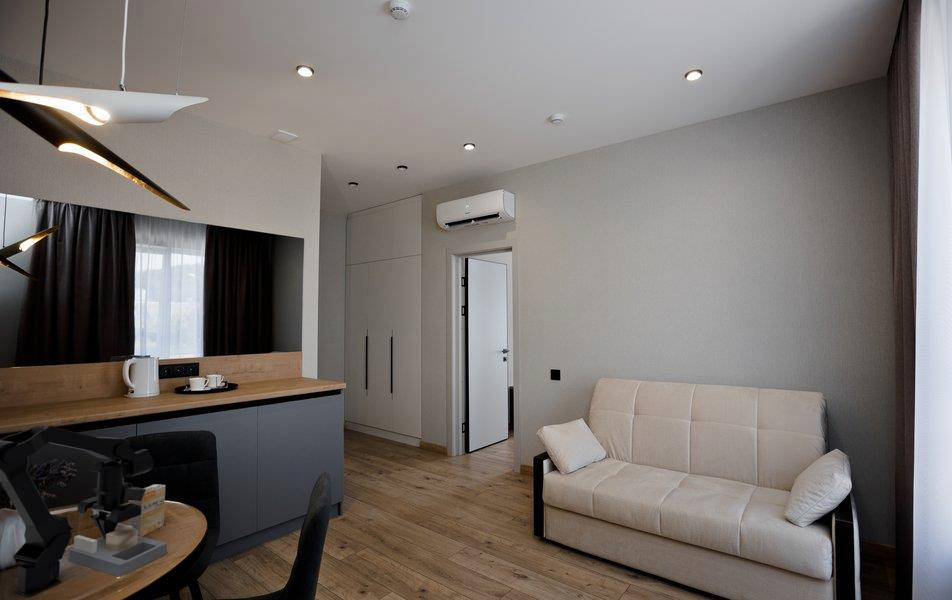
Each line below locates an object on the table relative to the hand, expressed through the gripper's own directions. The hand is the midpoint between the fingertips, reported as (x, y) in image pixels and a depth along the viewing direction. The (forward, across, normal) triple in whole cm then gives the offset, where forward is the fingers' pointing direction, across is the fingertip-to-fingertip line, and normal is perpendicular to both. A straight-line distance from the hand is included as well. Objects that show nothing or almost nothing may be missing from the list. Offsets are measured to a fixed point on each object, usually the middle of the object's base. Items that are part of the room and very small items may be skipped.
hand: (108, 539), depth 124 cm
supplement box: (+4, +4, -13) cm, 14 cm away
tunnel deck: (+4, -5, 0) cm, 6 cm away
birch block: (+1, -5, 0) cm, 6 cm away
